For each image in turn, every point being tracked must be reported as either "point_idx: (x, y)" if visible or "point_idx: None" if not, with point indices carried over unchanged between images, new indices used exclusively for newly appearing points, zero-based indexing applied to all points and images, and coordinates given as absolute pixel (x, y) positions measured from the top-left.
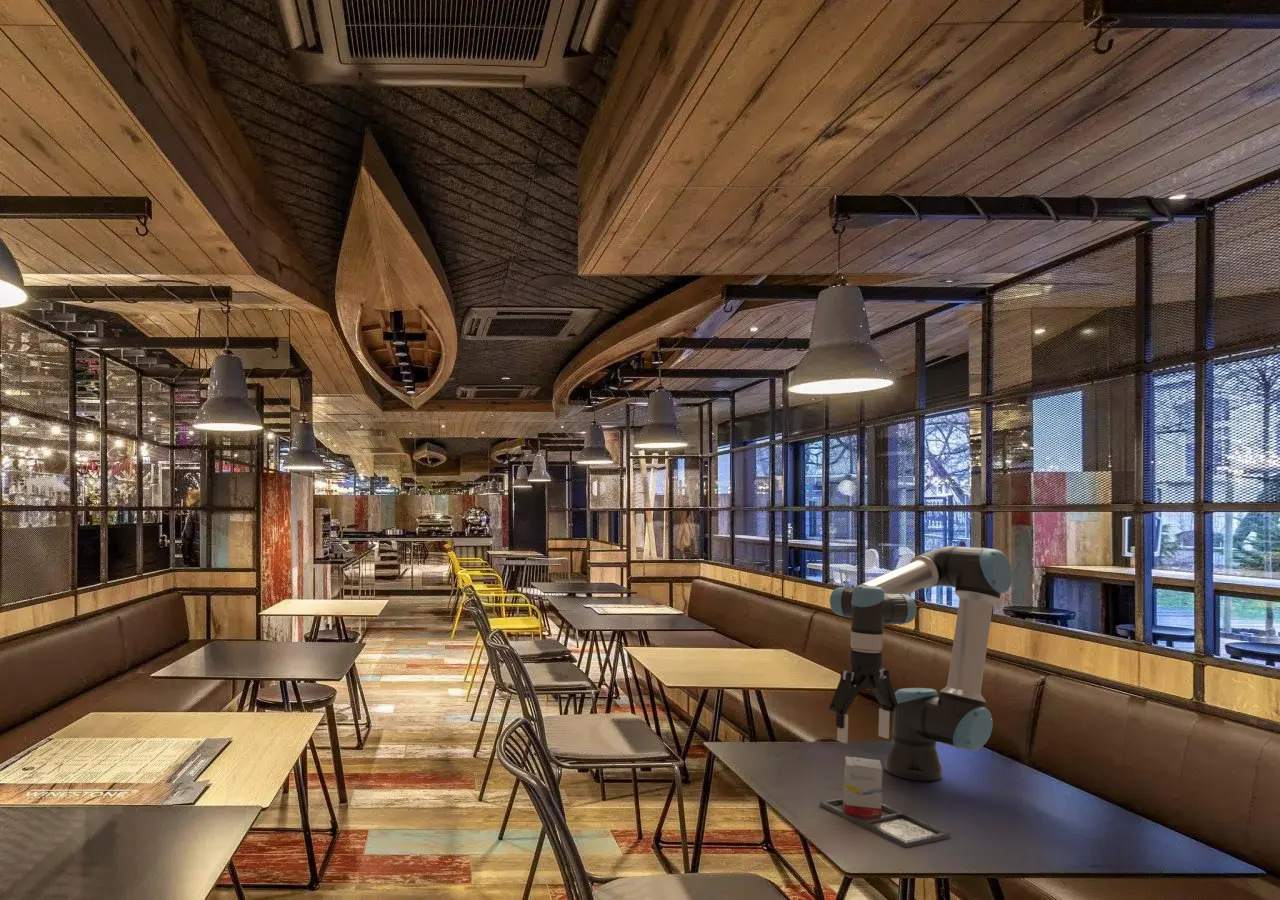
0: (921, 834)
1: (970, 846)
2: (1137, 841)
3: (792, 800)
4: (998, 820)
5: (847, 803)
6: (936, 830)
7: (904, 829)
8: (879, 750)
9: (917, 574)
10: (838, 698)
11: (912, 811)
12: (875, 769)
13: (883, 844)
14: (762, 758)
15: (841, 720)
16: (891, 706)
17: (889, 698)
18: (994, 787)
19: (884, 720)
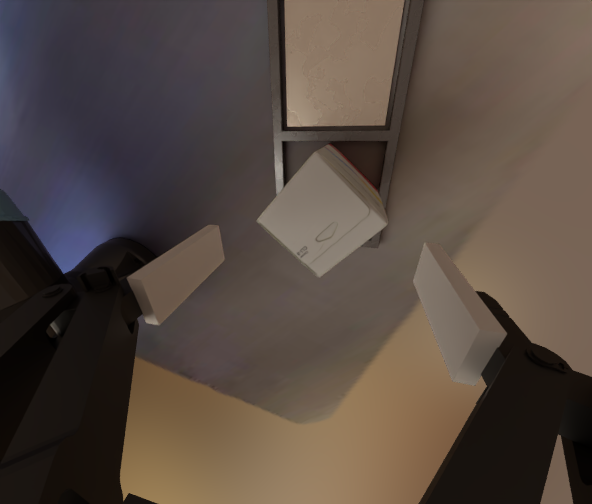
0: (320, 21)
1: None
2: None
3: (397, 280)
4: (105, 37)
5: (377, 192)
6: (278, 14)
7: (332, 68)
8: (138, 337)
9: None
10: None
11: (238, 153)
12: (332, 163)
13: (459, 3)
14: (298, 385)
15: (502, 322)
16: (90, 293)
17: (49, 342)
18: (45, 179)
19: (182, 267)
